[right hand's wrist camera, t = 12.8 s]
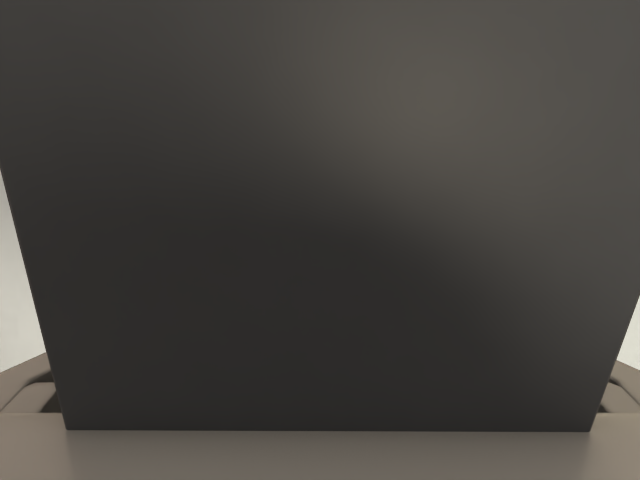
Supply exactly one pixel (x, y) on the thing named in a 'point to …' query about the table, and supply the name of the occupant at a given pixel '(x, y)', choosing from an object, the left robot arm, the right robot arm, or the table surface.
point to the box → (326, 209)
